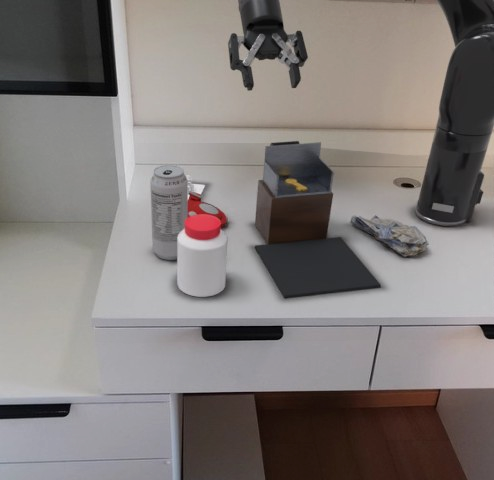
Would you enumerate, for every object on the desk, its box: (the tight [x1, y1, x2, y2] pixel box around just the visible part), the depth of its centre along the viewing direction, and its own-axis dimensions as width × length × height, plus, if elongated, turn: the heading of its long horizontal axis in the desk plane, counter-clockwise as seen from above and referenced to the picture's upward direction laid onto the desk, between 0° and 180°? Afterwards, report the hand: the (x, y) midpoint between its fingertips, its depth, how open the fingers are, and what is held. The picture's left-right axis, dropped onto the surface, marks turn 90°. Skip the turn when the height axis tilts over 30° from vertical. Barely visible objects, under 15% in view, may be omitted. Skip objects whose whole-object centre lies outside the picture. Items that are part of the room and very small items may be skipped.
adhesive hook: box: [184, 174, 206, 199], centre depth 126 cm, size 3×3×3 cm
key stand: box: [254, 179, 334, 244], centre depth 110 cm, size 8×11×9 cm
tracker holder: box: [188, 191, 228, 229], centre depth 115 cm, size 12×4×10 cm
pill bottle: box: [176, 214, 229, 298], centre depth 95 cm, size 8×8×11 cm
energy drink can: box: [149, 164, 188, 261], centre depth 102 cm, size 6×6×15 cm
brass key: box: [285, 179, 308, 191], centre depth 107 cm, size 5×2×1 cm, turn 31°
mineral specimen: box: [349, 215, 430, 258], centre depth 110 cm, size 15×8×4 cm, turn 18°
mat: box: [254, 236, 382, 299], centre depth 103 cm, size 16×16×1 cm
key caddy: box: [262, 140, 335, 198], centre depth 107 cm, size 12×10×6 cm
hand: (273, 87), depth 113 cm, fingers open, 8 cm apart
